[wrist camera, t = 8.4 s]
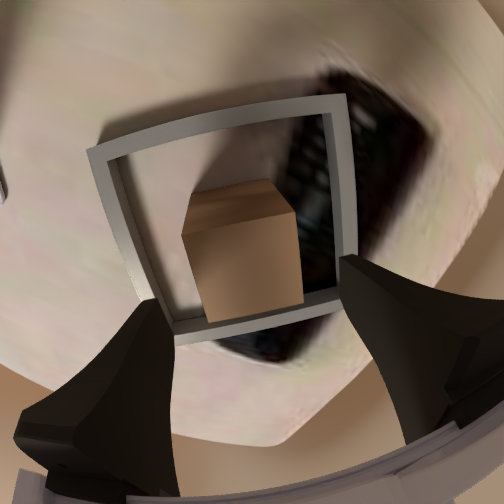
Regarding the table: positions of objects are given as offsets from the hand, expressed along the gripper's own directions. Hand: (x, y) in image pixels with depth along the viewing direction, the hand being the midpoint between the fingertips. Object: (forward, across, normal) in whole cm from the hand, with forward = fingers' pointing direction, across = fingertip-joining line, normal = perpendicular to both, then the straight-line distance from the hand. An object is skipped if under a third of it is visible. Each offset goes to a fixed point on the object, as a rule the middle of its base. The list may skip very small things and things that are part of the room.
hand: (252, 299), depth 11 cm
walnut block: (+7, 0, 0) cm, 7 cm away
